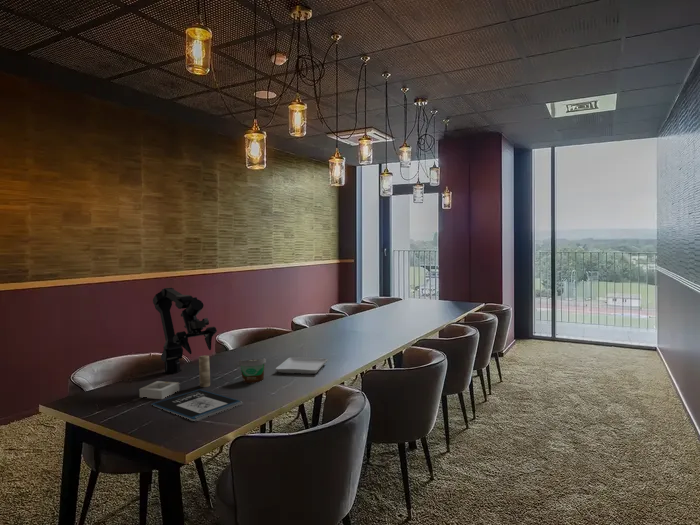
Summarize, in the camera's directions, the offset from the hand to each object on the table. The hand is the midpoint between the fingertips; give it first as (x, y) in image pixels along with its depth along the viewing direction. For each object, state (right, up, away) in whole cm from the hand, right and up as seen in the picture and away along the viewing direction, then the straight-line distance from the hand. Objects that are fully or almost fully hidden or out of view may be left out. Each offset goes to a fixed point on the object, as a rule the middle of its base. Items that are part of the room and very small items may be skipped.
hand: (200, 351), depth 205 cm
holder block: (-14, -16, -11) cm, 23 cm away
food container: (+23, -14, +3) cm, 27 cm away
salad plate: (+43, -13, +22) cm, 50 cm away
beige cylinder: (+2, -15, -1) cm, 15 cm away
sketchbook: (+7, -17, -25) cm, 31 cm away
